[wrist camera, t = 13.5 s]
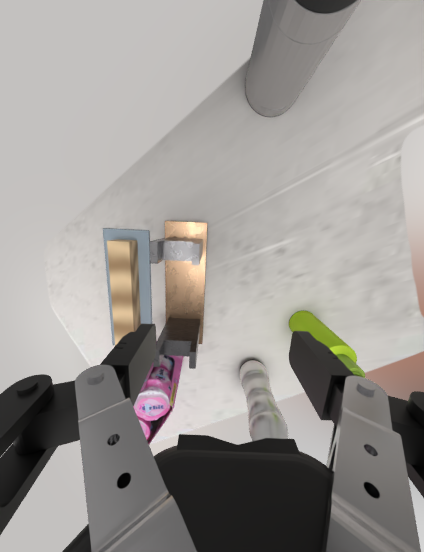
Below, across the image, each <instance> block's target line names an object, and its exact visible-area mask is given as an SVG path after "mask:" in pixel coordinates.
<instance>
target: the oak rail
mask: <svg viewBox="0 0 424 552" xmlns="http://www.w3.org/2000/svg"><path fill="white" fill-rule="evenodd" d="M107 249H108V261H109V274H110V287H111V300H112V312H113V325H114V338H115V346H116V345H117V344H118V342H119V341H120V340H121V338H122V337H123V336H125V335H126V334H128V333H129V332H135V331H136V330H137V328H138V327H139V326H140V324H141V316H140V292H139V267H138V243H137V240H122V239H116V240H108V241H107Z"/></svg>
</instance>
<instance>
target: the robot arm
mask: <svg viewBox="0 0 424 552" xmlns="http://www.w3.org/2000/svg"><path fill="white" fill-rule="evenodd" d="M360 1H361V0H264V1H263V6H262V10H261V14H260V19H259V23H258V28H257V32H256V37H255V41H254V45H253V50H252V54H251V58H250V63H249V67H248V72H247V76H246V82H245V90H246V96H247V99H248V101H249V103H250V105H251V107H252V108H253V109H254V110H255V111H256V112H258V113H259V114H261V115H263V116H268V117H273V116H278V115H281V114H282V113H284V112H286V111H287V110H288V109H289V108H290V107H291V106H292V104H293V103H294V102H295V100H296V99H297V97H298V96H299V94H300V92H301V91H302V89H303V88H304V87H305V85H306V84H307V82H308V80H309V79H310V77H311V76H312V74H313V73H314V71H315V70H316V68H317V67H318V65H319V64H320V62H321V61H322V59H323V58H324V56H325V55H326V53H327V51H328V50H329V48H330V47H331V45H332V44H333V42H334V41H335V39H336V38H337V36H338V35H339V33H340V32H341V30H342V29H343V27H344V25H345V24H346V22H347V21H348V19H349V18H350V16H351V15H352V13H353V12H354V10H355V8H356V7H357V5H358V4H359V2H360ZM155 354H156V326H155V324H143V323H142V324H140V326H139V327H138V328H137V330H136V331H135V332H129V333H128V334H126V335H125V336H123V337H122V338H121V340H120V341H119V342H118V344H117V345H116V346H115V347H114V349H112V351H111V352H110V353H109V354H108V356H107V357H106V358H105V359H104V360H103V362H102V363H101V364H100V365H97V366H93V367H91V368H89V369H86V370H85V371H83V372H82V373H81V374H80V375H79V376H78V377H77V378H76V380H75V381H71V382H65V383H60V384H55V385H53V383H52V379H51V377H50V376H48V375H34V376H31V377H27V378H25V379H22V380H20V381H18V382H16V383H14V384H13V385H11V386H10V387H9V388H7V389H6V390H5V391H4V392H3V393H1V394H0V457H1V455H2V454H3V453H4V452H5V451H6V450H7V449H8V447H9V446H10V445H11V444H12V443H13V444H12V445H11V446H10V447H9V449H8V450H7V451H6V452H5V453H4V454H3V456H2V457H1V458H0V535H1V533H2V532H3V530H4V529H5V527H6V526H7V524H8V522H9V521H10V519H11V518H12V516H13V515H14V513H15V512H16V510H17V509H18V507H19V505H20V504H21V502H22V501H23V499H24V498H25V496H26V495H27V493H28V492H29V490H30V488H31V487H32V485H33V484H34V482H35V481H36V479H37V477H38V476H39V474H40V473H41V471H42V470H43V468H44V467H45V465H46V463H47V462H48V460H49V459H50V457H51V456H52V454H53V453H54V451H55V450H56V448H57V447H58V446H59V445H63V444H67V443H70V442H73V441H78V440H80V444H81V454H82V463H83V473H84V483H85V492H86V502H87V512H88V521H89V524H88V525H87V526H86V527H85V528H84V529H83V530H82V531H81V532H80V533H79V534H78V535H77V537H76V538H75V539H74V540H73V541H72V542H71V543H70V544H69V545H68V546H67V547H66V548H65V549H64V550H63V552H421V549H420V544H419V538H418V532H417V526H416V520H415V515H414V509H413V503H412V497H411V491H410V486H409V480H408V477H409V478H410V480H411V481H412V482H413V484H414V485H415V487H416V488H417V489H418V491H419V492H420V493H421V495H422V496H423V497H424V392H412V393H411V395H410V398H409V400H408V401H406V400H402V399H398V398H395V397H390V396H388V395H387V394H386V392H385V391H384V390H383V389H382V388H381V387H380V386H379V385H377V384H376V383H374V382H372V381H370V380H368V379H366V378H363V377H360V376H355V375H354V374H353V373H352V372H351V371H350V370H349V369H348V367H347V366H346V365H345V364H344V363H343V362H342V361H341V360H340V359H338V357H337V356H336V355H335V354H333V352H332V351H331V350H330V349H329V348H328V347H327V346H326V345H325V344H323V343H321V342H320V341H317V340H316V339H315V338H314V337H313V336H312V335H311V334H310V333H309V332H308V331H294V332H293V334H292V339H291V346H290V352H289V362H290V365H291V367H292V369H293V371H294V373H295V374H296V376H297V378H298V380H299V381H300V383H301V385H302V387H303V389H304V390H305V392H306V394H307V396H308V397H309V399H310V401H311V403H312V405H313V406H314V408H315V410H316V412H317V414H318V415H319V417H320V419H321V420H332V421H333V423H334V427H333V431H332V437H331V443H330V448H329V454H328V460H327V466H326V465H324V464H322V463H321V462H320V461H318V460H316V459H315V458H313V457H311V456H309V455H307V454H304V453H302V452H300V451H299V450H298V448H297V445H296V443H295V440H294V439H279V438H264V439H260V440H256V441H252V442H248V443H245V444H241V445H236V444H232V443H229V442H226V441H223V440H220V439H217V438H214V437H210V436H205V435H181V434H179V439H178V445H177V446H174V447H171V448H168V449H166V450H164V451H162V452H160V453H158V454H157V455H155V456H154V457H153V454H152V452H151V449H150V447H149V444H148V442H147V439H146V437H145V434H144V432H143V429H142V427H141V424H140V422H139V419H138V417H137V415H136V412H135V410H134V407H133V406H134V404H135V402H136V400H137V397H138V395H139V393H140V391H141V388H142V386H143V384H144V381H145V379H146V377H147V375H148V372H149V370H150V368H151V366H152V363H153V361H154V358H155Z"/></svg>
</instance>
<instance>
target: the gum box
mask: <svg viewBox="0 0 424 552" xmlns="http://www.w3.org/2000/svg"><path fill="white" fill-rule="evenodd" d="M182 361H183V356H170V355H164V357H163V359H162V362H161V365H160V367H153V363H152V366H151V368H150V370H149V372H148V375H147V377H146V379H145V381H144V384H143V386H142V388H141V391H140V393H139V395H138V397H137V400H136V402H135V404H134V406H133V407H134V410H135V412H136V415H137V417H138V419H139V422H140V424H141V427H142V429H143V432H144V434H145V437H146V439H147V442H148V444H150V443H151V441H152V440H153V439H154V437H155V436H156V434H157V433H158V431H159V430H160V428H161V427H162V426H163V424H164V423H165V421H166V420H167V418H168V417H169V415H170V414H171V412H172V411H173V408H174V404H175V398H176V393H177V388H178V383H179V377H180V372H181V366H182Z"/></svg>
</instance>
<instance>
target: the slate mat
mask: <svg viewBox="0 0 424 552" xmlns="http://www.w3.org/2000/svg"><path fill="white" fill-rule="evenodd" d="M103 236H104V247H105V259H106V271H107V283H108V295H109V307H110V319H111V331H112V343H113V345H115V338H114V325H113V312H112V300H111V287H110V274H109V261H108V249H107V241H108V240H116V239H122V240H137V243H138V267H139V292H140V316H141V324H142V323H143V324H152V309H151V274H150V238H149V231H147V230H127V229H107V228H103Z"/></svg>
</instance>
